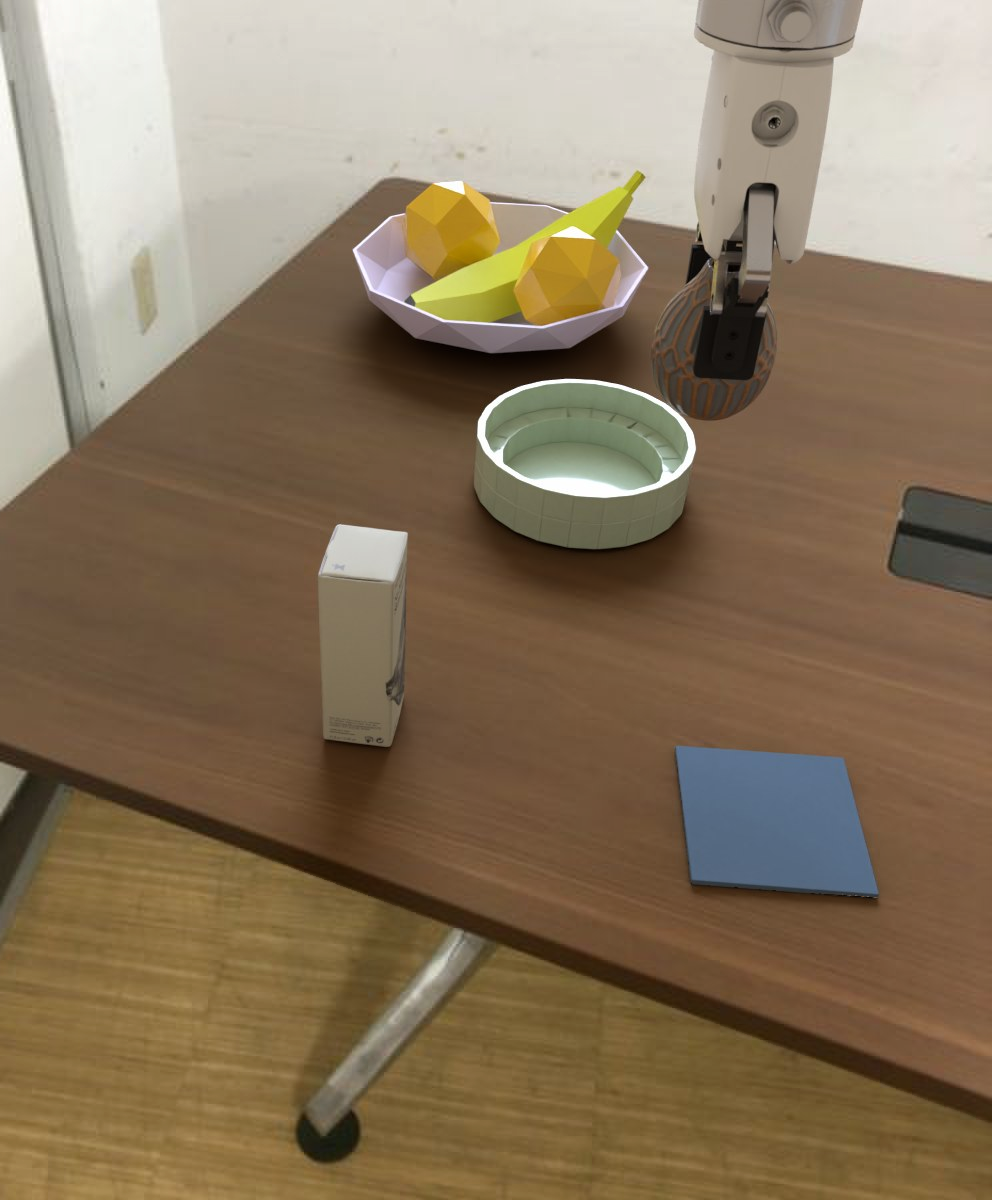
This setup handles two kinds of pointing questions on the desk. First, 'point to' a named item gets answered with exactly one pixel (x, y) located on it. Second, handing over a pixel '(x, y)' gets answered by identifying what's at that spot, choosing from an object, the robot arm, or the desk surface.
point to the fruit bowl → (502, 269)
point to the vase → (678, 352)
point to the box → (363, 634)
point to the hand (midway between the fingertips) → (715, 340)
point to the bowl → (583, 463)
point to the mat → (772, 822)
